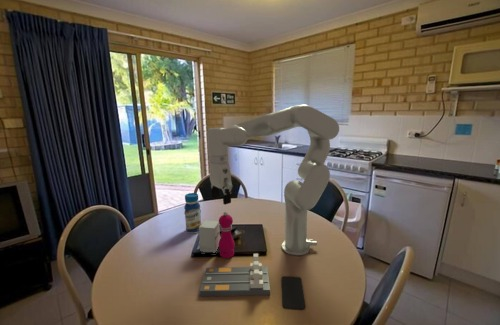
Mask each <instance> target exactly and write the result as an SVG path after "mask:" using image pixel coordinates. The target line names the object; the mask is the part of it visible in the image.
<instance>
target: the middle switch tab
mask: <svg viewBox="0 0 500 325" xmlns="http://www.w3.org/2000/svg"><path fill="white" fill-rule="evenodd" d="M253 263H254V270H259V263H260V262H259V260H258V261H254V260H253ZM250 279H254V271H250ZM259 279H263V274H262V271H259Z"/></svg>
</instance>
